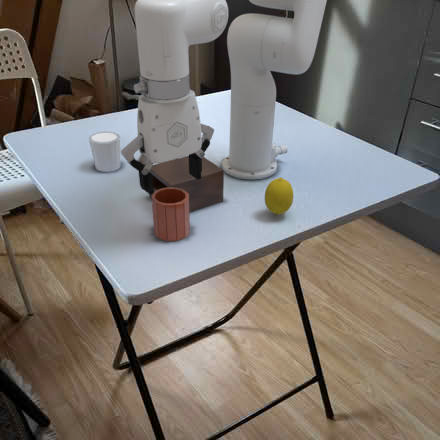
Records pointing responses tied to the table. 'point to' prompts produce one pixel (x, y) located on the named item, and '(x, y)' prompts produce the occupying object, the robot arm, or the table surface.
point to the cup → (171, 213)
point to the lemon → (279, 196)
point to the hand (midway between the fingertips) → (172, 183)
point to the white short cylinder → (105, 150)
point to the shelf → (191, 181)
